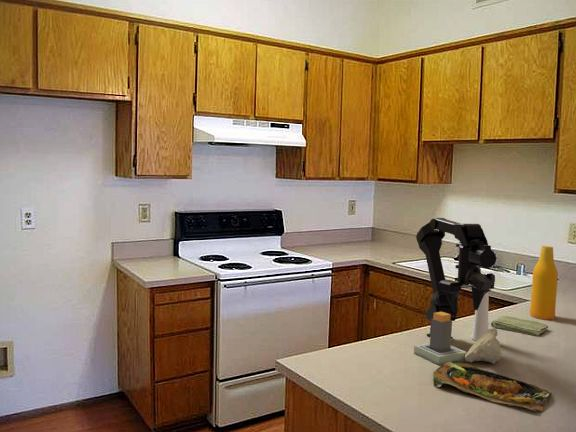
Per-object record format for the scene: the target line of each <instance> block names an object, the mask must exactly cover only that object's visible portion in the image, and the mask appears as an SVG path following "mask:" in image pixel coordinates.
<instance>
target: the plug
mask: <svg viewBox="0 0 576 432" xmlns="http://www.w3.org/2000/svg"><path fill="white" fill-rule="evenodd" d="M450 316H451V314H448V313H444V312H436V313H434V314H433V319H431V321H430V325H431V334H430V333H429V334H430V337H429V343H430V349H431V350H434V351H436V352H438V353H444V352H450V349H451V346H452V345H451V344H452V339H451V337H452V329H453V328H452V327H453V321H451V320H450Z"/></svg>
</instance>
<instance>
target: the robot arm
mask: <svg viewBox="0 0 576 432" xmlns="http://www.w3.org/2000/svg"><path fill="white" fill-rule="evenodd" d="M446 233H447V234H450V235H453V236H454V239H456V240H457V241H459V242H457V243H456V244H455V246H456V248H458V263H457V264H455V269H457V277H454V280H451V279H446V274H445V272H444V268H443V263H442V258H441V254H440V253H441V252H440V251H441V248H442V245H443V239H444V238H445V237H446ZM415 238H416V242H417V244H418V248H419V249H420V250H421V251H422V253H423V254H424V255H425V259H426V264H427V269H428V272H429V273H428V274H429V278H430V279H429V280H430V283H431V284H430V285H431V287H432V288H431V289H432V293H433V294H432V296H431V299H430V307H429V308H428V309H427V310H426V312H425V316H426V317H425V318H426V319H427V320H428V321H430V322H431V319H433V314H434V313H436V312H444V313H448V314H451V316H450V320H451V321H452V322H455V321H456V318H457V315H458V312H459V311H458V310H459V309H458V308H459V307H458V301H459V297H460V295H462V292H461V290H462V289H465V288H471V295H472V296H471V297H472V306H473V310H474V311H475V310H478V308H479V306H480V303H481V301H482V299H483V297H484V295H485V294H486V293H487V294H488V293H489V292H491V291H492V290H494V289H495V283H496V275H495V274H494V273H491V272H490V273H487V274H486V273H482V271H481V270H482V269H481V268H484V269H490V268H493V266H495V264H496V262H497V256H496V255H497V254H496V253H495V252H494V250H493V249H492V246H491V245H489V243H488V239H487V237H486V235H485V232H484V230H483V228H482V225H481V224H480V223H460V222H457V221H453V220H450V219H447V218H445V217H433V218H431V219H430V220H429V222H428V223H426V224H424V225H423V226H421V227H420V229H419V230H418V232H416V236H415ZM429 329H430V331H429V333H426V336H427V337H429V338H430V334H431V324H430V327H429ZM452 339H454V337H453V336H451V340H452Z"/></svg>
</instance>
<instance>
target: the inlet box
mask: <svg viewBox="0 0 576 432" xmlns="http://www.w3.org/2000/svg"><path fill="white" fill-rule="evenodd" d="M413 347H414V348H413V353H414V355H417V356H419V357H421V358H423V359H425V360H428V361H429V362H431V363H434V364H436V365H438V366H442V365H444V364H445V363H447V362H451V363H456V362H462V361H466V360H465V355H466V354H467V351H465V350H463V349H460V348H457V347H456V346H453V345H451V349H450V352H444V353H438V352H436V351H434V350H431V349H430V342H428V343H423V344H417V345H415V344H414V346H413Z"/></svg>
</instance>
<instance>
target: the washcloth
mask: <svg viewBox="0 0 576 432" xmlns="http://www.w3.org/2000/svg"><path fill="white" fill-rule="evenodd" d="M490 326H491V327H492V328H494V327H495V329H500V330H503V331H510V332H514V333H520V334H526V335H530V336H534V337H539V336H540V334H543V333H544V332H545V331H546V330H548V329H549V325H547V324H546V323H543V322H539V321H535V320H529V319H523V318H518V317H515V316H514V317H513V316H509V315H501V316H499V317H498V318H495V319H494V320H492V321H491V323H490Z"/></svg>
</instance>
